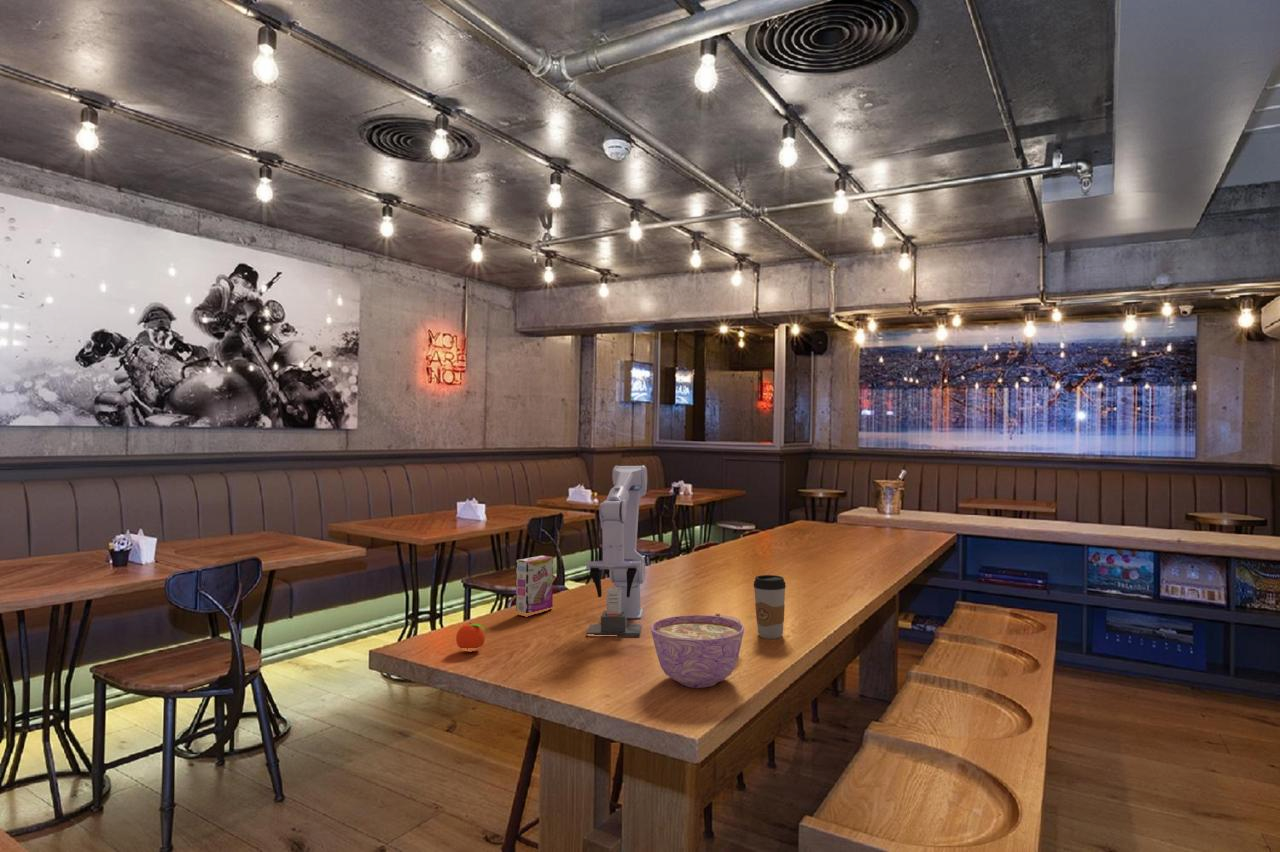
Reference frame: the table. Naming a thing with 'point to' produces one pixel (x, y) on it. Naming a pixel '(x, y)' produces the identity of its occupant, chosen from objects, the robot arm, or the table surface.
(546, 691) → the table surface
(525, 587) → the candy bar box
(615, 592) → the block
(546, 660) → the table surface
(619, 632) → the jack housing
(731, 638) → the bowl of food
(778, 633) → the coffee cup
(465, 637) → the clementine
